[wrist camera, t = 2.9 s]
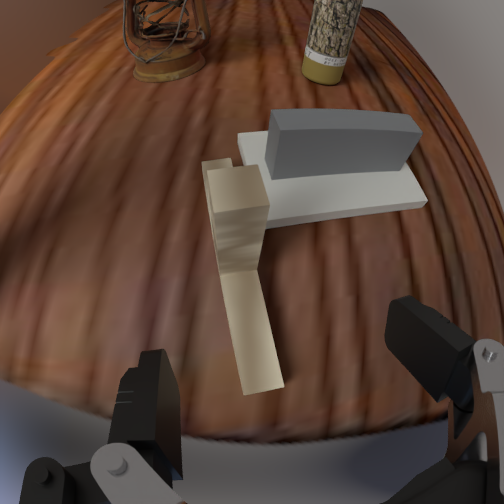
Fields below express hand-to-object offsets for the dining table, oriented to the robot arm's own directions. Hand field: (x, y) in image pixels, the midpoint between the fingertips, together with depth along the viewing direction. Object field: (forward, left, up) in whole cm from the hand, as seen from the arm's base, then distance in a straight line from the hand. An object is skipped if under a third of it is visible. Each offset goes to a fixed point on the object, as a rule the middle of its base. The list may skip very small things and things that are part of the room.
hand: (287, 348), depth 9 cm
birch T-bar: (0, +9, -14) cm, 17 cm away
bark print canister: (+20, +40, -14) cm, 47 cm away
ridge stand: (+13, +18, -14) cm, 26 cm away
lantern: (-5, +48, -14) cm, 50 cm away
